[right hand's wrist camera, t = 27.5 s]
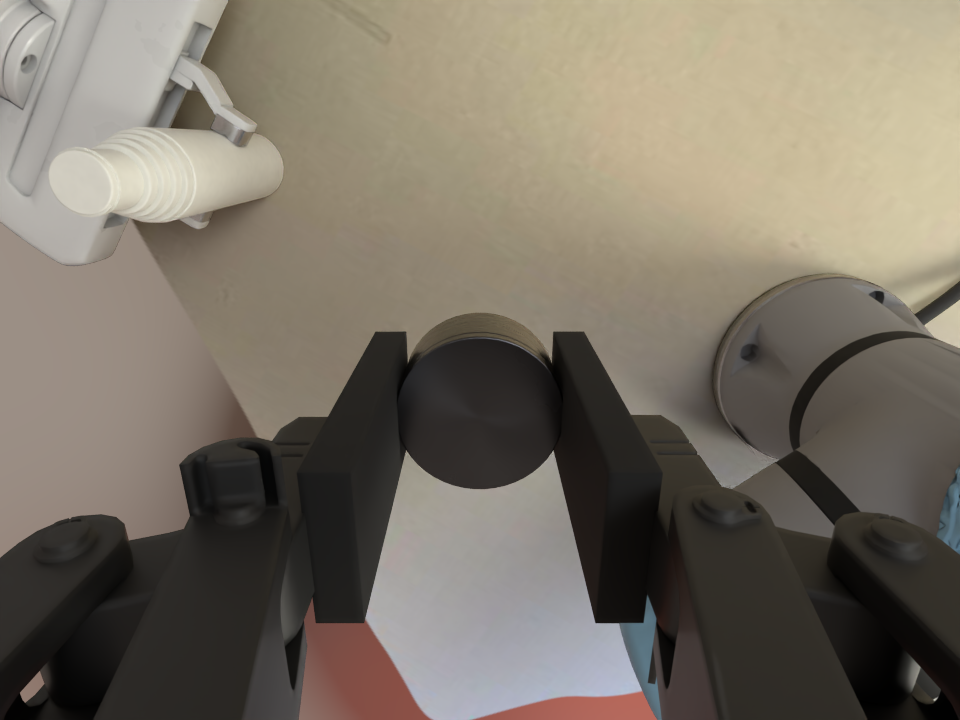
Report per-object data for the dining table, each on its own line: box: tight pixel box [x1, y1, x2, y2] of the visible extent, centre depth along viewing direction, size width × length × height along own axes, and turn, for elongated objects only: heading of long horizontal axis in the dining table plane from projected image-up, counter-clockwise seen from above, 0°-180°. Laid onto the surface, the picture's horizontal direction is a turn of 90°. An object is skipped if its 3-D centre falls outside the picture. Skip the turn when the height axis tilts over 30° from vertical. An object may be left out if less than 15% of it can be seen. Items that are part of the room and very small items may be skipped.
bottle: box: [48, 127, 284, 223], centre depth 32 cm, size 4×4×19 cm
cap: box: [397, 313, 563, 489], centre depth 13 cm, size 4×4×2 cm
